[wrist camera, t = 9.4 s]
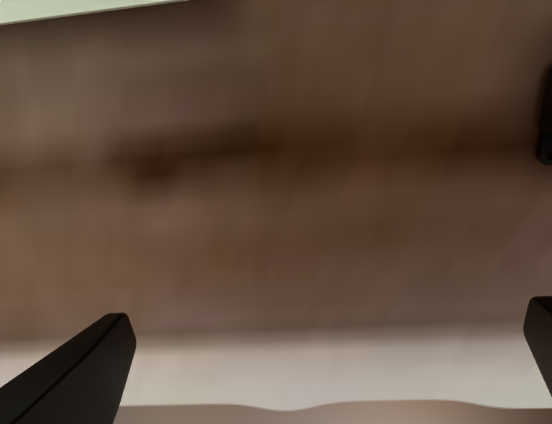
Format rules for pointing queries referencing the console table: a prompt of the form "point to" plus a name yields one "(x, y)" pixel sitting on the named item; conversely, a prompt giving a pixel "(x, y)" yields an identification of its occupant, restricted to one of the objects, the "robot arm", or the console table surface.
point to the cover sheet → (64, 8)
